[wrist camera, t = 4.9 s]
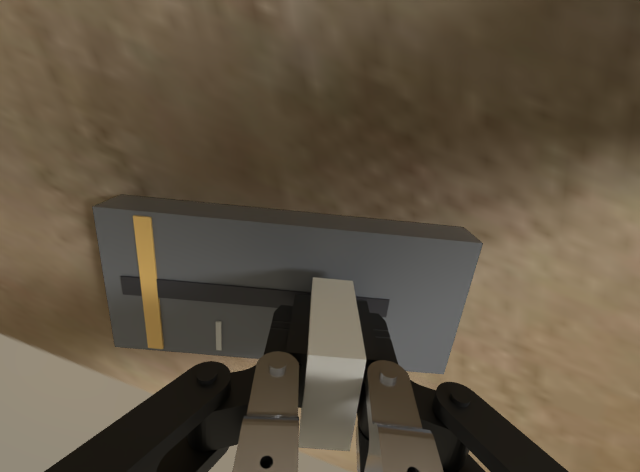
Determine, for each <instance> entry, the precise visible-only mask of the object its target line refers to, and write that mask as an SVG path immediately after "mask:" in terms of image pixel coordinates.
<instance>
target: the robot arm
mask: <svg viewBox="0 0 640 472" xmlns="http://www.w3.org/2000/svg"><path fill="white" fill-rule="evenodd" d="M356 302H357V308H358V313H359V319H360V325H361V331H362V336H363V342H364V348H365V354H366V359H367V360H366V365H365V371H364V376H363V382H362V387H361V392H360V398H359V403H358V408H357V416H358V422H357V428H356V447H357V470H358V472H485V471H484V470H483V469H482V468H481V467H480V466H479V465H478V464H477V462H476V461H475V460H474V459H473V458H472V457H471V456H470V455H469V454H468V453H469V450H470V451H471V452H472V453H473V454H474V455H475V456H476V457H477V458H478V459H479V460H480V461H481V462H482V463H483V464H484V465H485V466H486V467H487V468H488V469H489V470H490V471H491V472H568V471H567V470H566V469H565V468H563V467H562V466H561V465H560V464H559V463H557V462H556V461H555V460H554V459H553V458H552V457H550V456H549V455H548V454H547V453H546V452H544V451H543V450H542V449H541V448H540V447H539V446H537V445H536V444H535V443H534V442H533V441H531V440H530V439H529V438H528V437H527V436H525V435H524V434H523V433H522V432H521V431H520V430H518V429H517V428H516V427H515V426H514V425H512V424H511V423H510V422H509V421H508V420H506V419H505V418H504V417H503V416H502V415H501V414H499V413H498V412H497V411H496V410H495V409H493V408H492V407H491V406H490V405H489V404H487V403H486V402H485V401H484V400H483V399H482V398H480V397H479V396H478V395H477V394H476V393H474V392H473V391H472V390H471V389H469V388H467V387H466V386H464V385H461V384H458V383H454V382H444V383H442V384H440V385H439V386H438V387H437V389H436V390H433V389H430V388H427V387H424V386H421V385H418V384H416V383H414V382H413V381H411V380H410V378H409V375H408V373H407V372H406V371H405V370H404V369H403V368H402V367H401V366H400V365H398V361H397V358H396V355H395V351H394V348H393V344H392V341H391V339H390V334H389V332H388V327H387V324H386V321H385V320H384V319H383V318H382V317H381V316H380V315H379V313H370V312H369V308H368V303H367V301H366V300H356ZM310 305H311V295H300V294H295V296H294V303H293V306H288V305H280V306H279V307H278V308H277V309H276V310H275V311H274V314H273V319H272V323H271V327H270V331H269V335H268V339H267V343H266V347H265V351H264V355H263V356H262V357H261V358H260V359H259V360H258V362H257V364H256V365H255V366H253V367H252V368H249V369H247V370H243V371H238V372H232V373H230V370H229V369H228V367H227V366H225V365H224V364H222V363H219V362H212V361H210V362H203V363H200V364H198V365H195V366H194V367H192V368H191V369H189V370H188V371H186V372H185V373H183V374H182V375H181V376H179V377H178V378H176V379H175V380H174V381H172V382H171V383H169V384H168V385H166V386H165V387H164V388H162V389H161V390H159V391H158V392H157V393H155V394H154V395H152V396H151V397H150V398H148V399H147V400H145V401H144V402H143V403H141V404H140V405H138V406H137V407H135V408H134V409H132V410H131V411H130V412H128V413H127V414H125V415H124V416H122V417H121V418H120V419H118V420H117V421H115V422H114V423H113V424H111V425H110V426H109V427H107V428H106V429H104V430H103V431H101V432H100V433H98V434H97V435H96V436H94V437H93V438H91V439H90V440H88V441H87V442H86V443H84V444H83V445H81V446H80V447H79V448H77V449H76V450H74V451H73V452H72V453H70V454H69V455H67V456H66V457H64V458H63V459H62V460H60V461H59V462H57V463H56V464H54V465H53V466H52V467H50V468H49V469H47V470H46V471H44V472H208V471H209V470H210V469H211V467H213V466H214V465H215V464H216V462H217V461H218V460H219V459H220V458H221V457H222V456H223V455H224V454H225V453H226V451H227V450H228V448H229V446H233V445H237V444H238V446H237V451H236V456H235V461H234V466H233V471H232V472H298V446H299V417H298V407H299V408H302V401H303V391H304V381H305V371H306V362H307V351H308V335H309V320H310Z"/></svg>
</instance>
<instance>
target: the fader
mask: <svg viewBox="0 0 640 472" xmlns="http://www.w3.org/2000/svg"><path fill="white" fill-rule="evenodd" d="M366 360H367V359H366V354H365V348H364V342H363V336H362V331H361V325H360V319H359V313H358V308H357V302H356V296H355V290H354V285H353V281H349V280H338V279H327V278H316V277H313V281H312V291H311V305H310V320H309V335H308V351H307V362H306V371H305V381H304V391H303V401H302V408H301V419H300V432H299V446H298V447H301V448H314V449H327V450H341V451H350V446H351V441H352V435H353V430H354V425H355V419H356V414H357V408H358V403H359V398H360V392H361V387H362V382H363V376H364V371H365V365H366Z"/></svg>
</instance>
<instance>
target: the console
mask: <svg viewBox="0 0 640 472" xmlns="http://www.w3.org/2000/svg"><path fill="white" fill-rule="evenodd" d="M92 208H93V214H94V220H95V226H96V233H97V239H98V245H99V251H100V258H101V264H102V270H103V276H104V282H105V289H106V295H107V301H108V307H109V313H110V320H111V326H112V332H113V338H114V344H115V347H123V348H135V349H147V350H159V351H171V352H183V353H195V354H207V355H219V356H231V357H243V358H255V359H260V358H261V357H262V356H263V355H264V351H265V347H266V343H267V339H268V335H269V331H270V327H271V323H272V319H273V314H274V311H275V310H276V309H277V308H278V307H279V306H280V305H288V306H293V303H294V296H295V294H300V295H311V291H312V281H313V277H316V278H327V279H338V280H349V281H353V285H354V290H355V296H356V300H366V301H367V303H368V308H369V312H370V313H379V315H380V316H381V317H382V318H383V319H384V320H385V321H386V324H387V327H388V332H389V334H390V339H391V341H392V344H393V348H394V351H395V355H396V358H397V361H398V365H400V366H401V367H402V368H403V369H404V370H405V371H411V372H423V373H435V374H444V372H445V368H446V365H447V362H448V358H449V355H450V352H451V348H452V345H453V342H454V338H455V335H456V332H457V328H458V325H459V322H460V318H461V315H462V312H463V308H464V305H465V302H466V298H467V295H468V292H469V288H470V285H471V282H472V278H473V275H474V271H475V268H476V265H477V261H478V258H479V255H480V251H481V248H482V245H483V243H482V242H481V241H480V240H478V239H477V238H476V237H475V236H474V235H472V234H471V233H470V232H469V231H468V230H466V229H465V228H464V227H456V226H446V225H435V224H425V223H414V222H404V221H393V220H383V219H372V218H362V217H351V216H341V215H330V214H320V213H309V212H299V211H288V210H278V209H267V208H257V207H246V206H236V205H225V204H215V203H204V202H194V201H183V200H173V199H162V198H152V197H141V196H131V195H119V196H117V197H114V198H112V199H109V200H107V201H105V202H102V203H100V204H97V205H95V206H93V207H92Z"/></svg>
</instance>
